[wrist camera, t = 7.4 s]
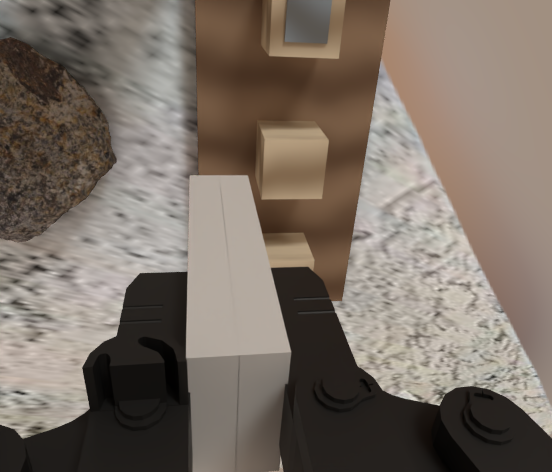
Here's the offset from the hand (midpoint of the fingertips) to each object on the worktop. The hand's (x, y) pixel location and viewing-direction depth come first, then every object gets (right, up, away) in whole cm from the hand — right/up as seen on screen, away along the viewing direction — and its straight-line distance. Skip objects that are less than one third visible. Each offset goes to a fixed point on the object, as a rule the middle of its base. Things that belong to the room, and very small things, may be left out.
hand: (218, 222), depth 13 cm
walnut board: (+2, +8, +31) cm, 32 cm away
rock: (-19, +8, +28) cm, 35 cm away
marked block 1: (+2, -2, +35) cm, 35 cm away
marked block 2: (+3, +17, +24) cm, 29 cm away
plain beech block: (+2, +7, +29) cm, 30 cm away
